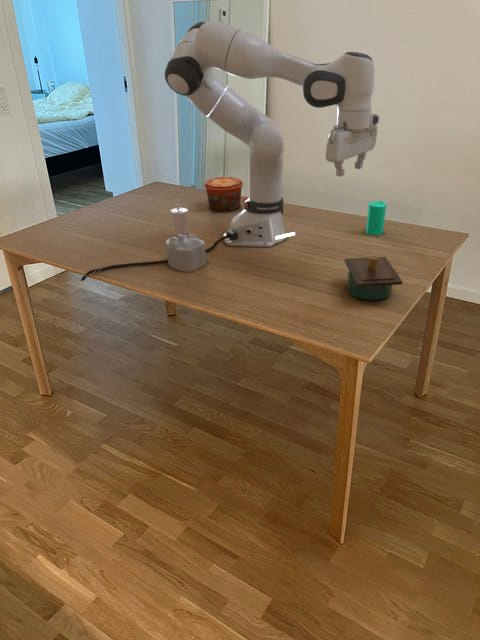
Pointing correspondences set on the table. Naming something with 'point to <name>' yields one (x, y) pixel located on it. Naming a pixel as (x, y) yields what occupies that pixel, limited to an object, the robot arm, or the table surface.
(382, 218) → the candle
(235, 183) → the food container
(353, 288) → the bowl
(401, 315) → the table surface
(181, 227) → the smoothie
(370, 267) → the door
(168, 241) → the lumpy-topped squat cylinder
